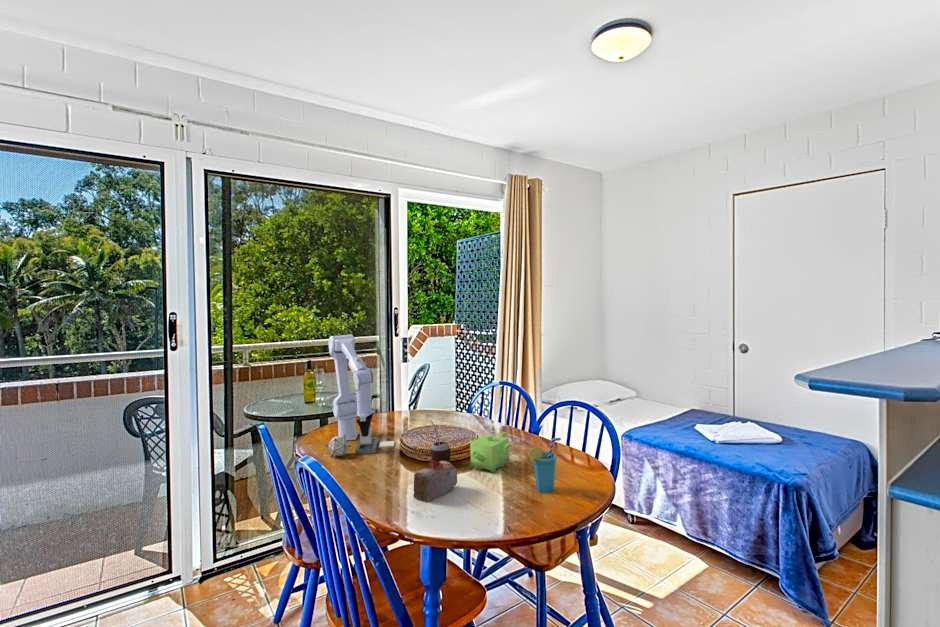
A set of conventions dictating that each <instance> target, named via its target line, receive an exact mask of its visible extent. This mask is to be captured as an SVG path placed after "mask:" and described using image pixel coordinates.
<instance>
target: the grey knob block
mask: <svg viewBox="0 0 940 627" xmlns="http://www.w3.org/2000/svg"><path fill="white" fill-rule="evenodd" d="M372 432H373V431H372V424H370V425H369V433H368V436H366V437H362V434H361V430H360V429H359V440H360V443H371V441H372V438H373V435H372V434H373V433H372Z"/></svg>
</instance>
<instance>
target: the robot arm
mask: <svg viewBox="0 0 940 627" xmlns="http://www.w3.org/2000/svg"><path fill="white" fill-rule="evenodd" d="M327 343H328V352H329V356H331V357H333V361H334V366H335V367H334V368H335V376H336V384H337V391H338V395H337V396H336V397H335V398H334V399H333V401H332V413H333V416H334V417H335V418H336V419H337V427H338V428H337V430H338V431H337V432H338V436H344V435H346V436H345V438H346V440H347V441H353V440H354V441H355V440H357V437H358V435H359V432H358V431H357V426H356V425H357V424H358V426H359V431H360V430H361V434H362V437H366V436H368V433H369V425H371V422H372V420H373V416H374V414H375V413H376V410H375V409H374V410H373V402H372V401H373V399H372V398H373V397H372V396H373V395H372V383H373V382H374V373H373V370H372V368H369V367H367V366H366V364H365V363H364V360H363V359H362V357H360V356H358V355H357V354H358V353H357V352H356V349H355V345H356V340H355V336H354V335H353V334H351V333H350V334H342V335H330V336H329V338H328V342H327ZM347 360H348V363H347ZM348 367H349V369H350V371H351V373H352V374H353V377H352V380H353V383H354V389H355V390H356V395H354V394H352V393H351V387H350V380H349V373H348ZM357 416H358V418H357ZM356 423H357V424H356Z"/></svg>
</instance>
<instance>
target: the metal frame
mask: <svg viewBox="0 0 940 627" xmlns="http://www.w3.org/2000/svg"><path fill="white" fill-rule="evenodd" d="M379 440H380V439H379V437H378V436H377V437H372V441H371V443H360V439H358V443H357V445H356V447H355V450H354V451H355V452H354V453H355V456H356V455H358V456H359V455H370V454H371V455H372V454H376V453H377V449H378V447H379V443H380V441H379Z"/></svg>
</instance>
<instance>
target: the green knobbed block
mask: <svg viewBox="0 0 940 627" xmlns="http://www.w3.org/2000/svg"><path fill="white" fill-rule="evenodd" d="M505 434H506V431H502V432H501V433H500V434H499V436H498V435H492V434H488V433H487V434H485V435H483V436H481V437H478V438H476V439H470V440H468V442H469V444H470V446H469V448H470V449H469V450H470V466H471V467H475V468H476V470H483V469H484V470H489V473H496V472H497V469H499V468H504V467H505V464H506V463H508V462H510V446H512V445H514V443H512V442H510V440H509V437H505Z"/></svg>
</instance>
